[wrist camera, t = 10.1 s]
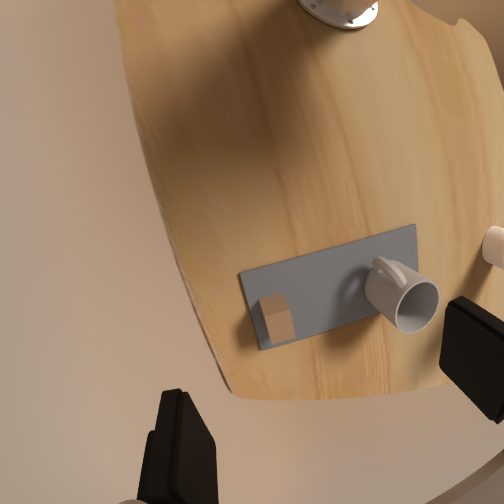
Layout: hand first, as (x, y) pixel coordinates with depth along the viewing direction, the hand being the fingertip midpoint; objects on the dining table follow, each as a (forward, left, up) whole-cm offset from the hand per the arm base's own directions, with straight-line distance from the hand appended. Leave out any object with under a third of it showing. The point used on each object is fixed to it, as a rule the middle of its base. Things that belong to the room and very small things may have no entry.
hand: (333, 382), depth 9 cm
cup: (+11, +16, -28) cm, 34 cm away
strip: (+12, +10, -28) cm, 32 cm away
